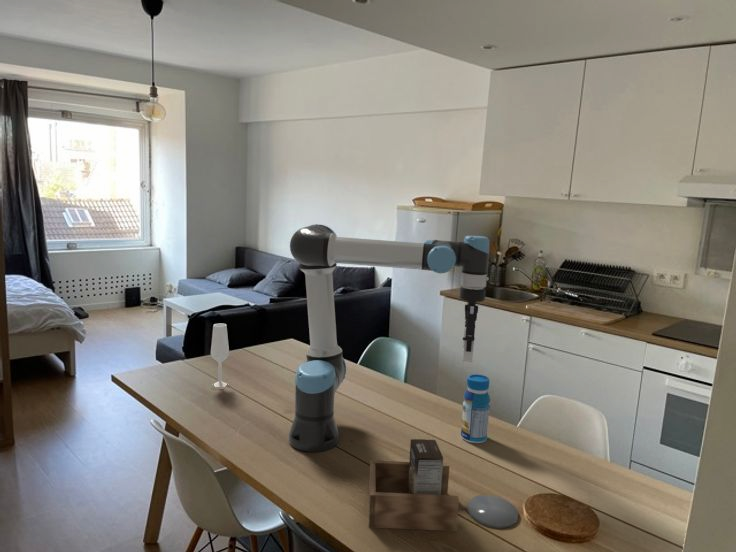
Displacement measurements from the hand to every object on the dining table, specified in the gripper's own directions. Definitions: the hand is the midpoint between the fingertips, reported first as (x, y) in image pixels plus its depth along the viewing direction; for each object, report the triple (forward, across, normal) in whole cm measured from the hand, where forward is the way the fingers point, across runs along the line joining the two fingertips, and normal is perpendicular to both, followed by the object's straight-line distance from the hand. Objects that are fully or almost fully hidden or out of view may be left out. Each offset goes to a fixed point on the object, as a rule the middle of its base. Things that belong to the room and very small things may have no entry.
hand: (467, 354), depth 162 cm
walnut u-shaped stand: (+27, -42, +12) cm, 52 cm away
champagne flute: (+28, +18, +90) cm, 96 cm away
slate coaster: (+27, -39, -8) cm, 48 cm away
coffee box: (+27, -42, +9) cm, 51 cm away
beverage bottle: (+27, 0, -4) cm, 28 cm away
